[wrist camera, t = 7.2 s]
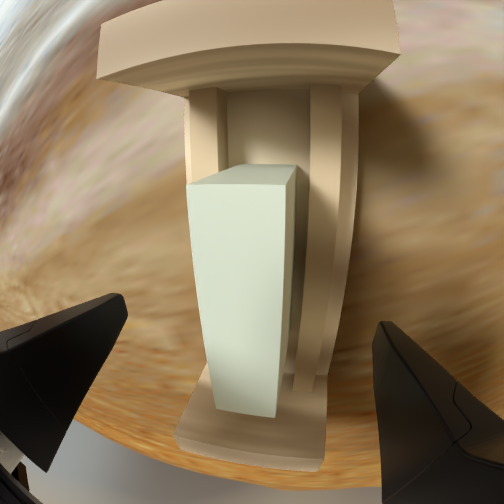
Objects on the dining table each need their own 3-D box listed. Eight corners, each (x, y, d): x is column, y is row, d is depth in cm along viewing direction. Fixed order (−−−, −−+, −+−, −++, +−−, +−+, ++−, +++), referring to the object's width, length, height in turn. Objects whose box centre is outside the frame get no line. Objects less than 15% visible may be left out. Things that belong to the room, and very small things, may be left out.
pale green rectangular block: (289, 331, 15) (275, 417, 10) (233, 325, 16) (199, 405, 10) (297, 164, 12) (285, 185, 6) (225, 164, 12) (160, 185, 7)
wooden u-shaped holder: (322, 385, 18) (317, 471, 11) (213, 372, 19) (180, 449, 13) (353, 58, 10) (390, -10, 4) (190, 64, 11) (101, 24, 5)
